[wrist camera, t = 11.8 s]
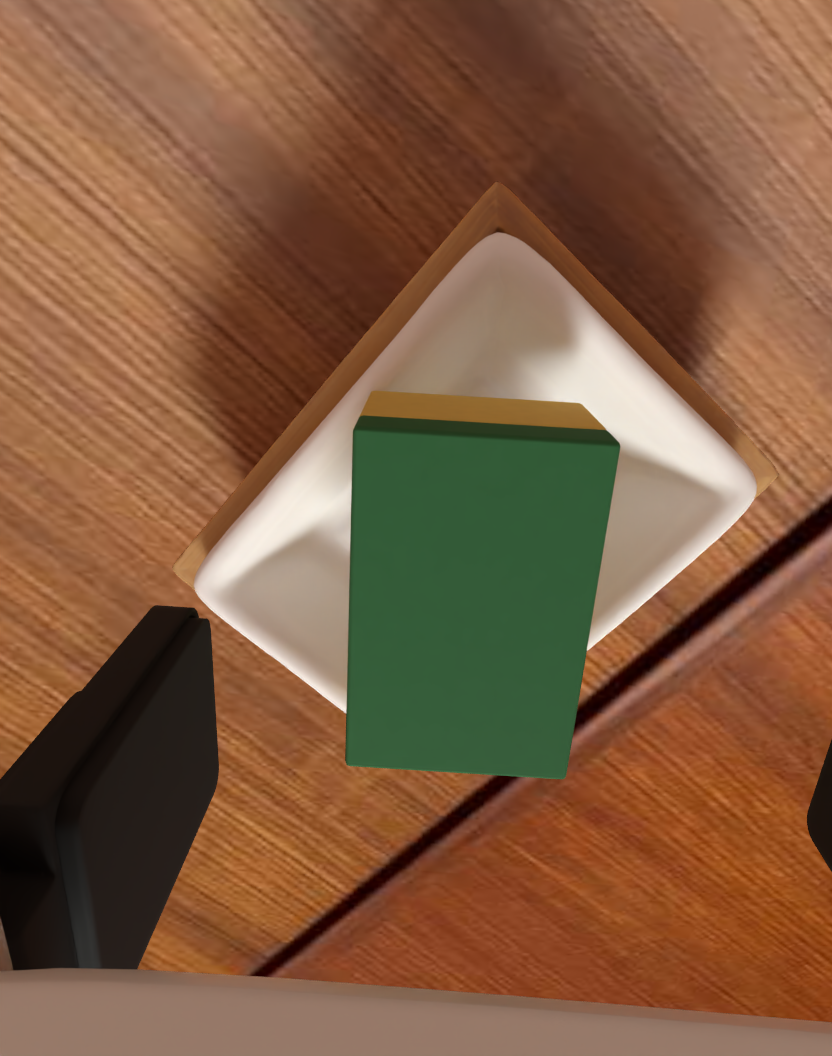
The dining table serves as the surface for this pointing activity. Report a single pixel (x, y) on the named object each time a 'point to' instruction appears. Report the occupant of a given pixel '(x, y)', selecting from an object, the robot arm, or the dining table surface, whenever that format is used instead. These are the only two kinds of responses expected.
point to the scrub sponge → (472, 580)
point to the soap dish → (480, 371)
